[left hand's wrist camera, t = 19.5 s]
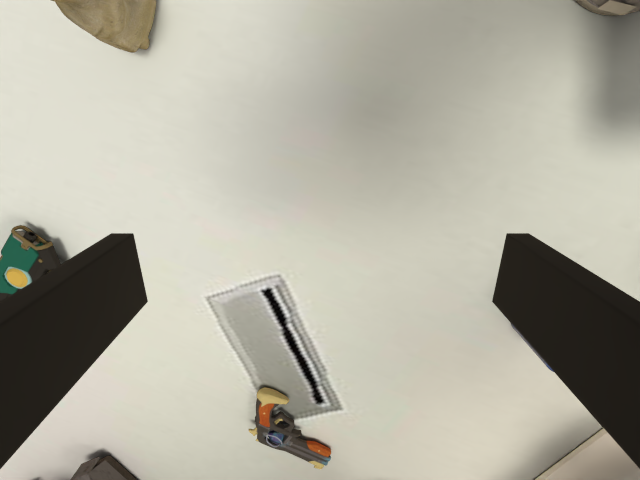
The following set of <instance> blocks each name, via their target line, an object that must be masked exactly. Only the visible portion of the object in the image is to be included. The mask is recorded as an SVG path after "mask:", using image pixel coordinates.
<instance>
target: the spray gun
mask: <svg viewBox="0 0 640 480" xmlns="http://www.w3.org/2000/svg"><path fill="white" fill-rule="evenodd" d="M17 229H24V230H25V231H27V232H26V233H24V232H22V231H15V230H17ZM11 232H12V233H11V234H10V236H9V238H8V240H7V241H6V243H5V245H4V247H3V248H2V250H1V254H2V256H1V258H0V302H1V301H2V300H4V299H6V298H7V297H9V296H11V295H12V294H14V293H15V292H17V291H19V290H20V289H22V288H24V287H25V286H27V285H28V284H30V283H32V282H33V281H35V280H37V279H38V278H40V277H41V276H43V275H45V274H46V273H47V272H48V270H50V271H51V270H53V269H55V268H56V267H58V266H59V265H61V264H60V261H59V259H58V256H57V254H56V252H55V249H54V247H53V246H52V245H53V244H52V242H47V241H45V240H44V239H42V238H41V237H40V236H38V235H37V234H35V233H34V232H33V231H31V230H30V229H29V228H27V227H25V226H22V225H20V226H16V227H14V228H13V229H12V230H11ZM39 241H41V242H42V243H39ZM43 243H44V244H45V245H43ZM50 271H49V272H50Z"/></svg>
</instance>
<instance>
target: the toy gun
mask: <svg viewBox="0 0 640 480" xmlns="http://www.w3.org/2000/svg"><path fill="white" fill-rule="evenodd" d="M288 402H289V399H288V398H287V397H286V396H285V395H283V394H281V393H280V392H278V391H276V390H273V389H270V388H262V389H260V390H259V391H258V392H257V402H256V417H255V422H256V428H255V429H249V432H250V433H252V434H253V436H255V435H256V434H257V439H256V441H259V442H260V443H262V444H265V445H267V446H270V447H272V448H275V449H278V450H283V451H286V452H288V453H291V454H293V455H295V456H297V457H299V458H302V459H304V460H306V461H308V462H309V463H311V464H314V465H315V466H314V468H318V469H322V468H323V467H324V465H327V464H328V461H330V459H331V456H330V454H331V449H330V448H328V447H326V446H324V445H322V444H320V443H318V442H315V441H305V440H303V439H301V438H299V436H301V430H297V429H293V428H294V420H293V419H291V418H289V417H287V416H286V415H285V414H284V413H283V412H281V411H280V412H279V413H278V414H276V415H274V416H272V415H271V414H272V411H273V409H274V408H275V407H276V406H277V405H279V404H287V403H288ZM277 418H279V419H277ZM276 419H277V420H276ZM283 420H284V421H285V422H287V423H288V424H287V425H283V424H281V423H278V422H279V421H283ZM276 421H277V422H276ZM270 430H272V431H270ZM267 435H268V437H269V438H267Z"/></svg>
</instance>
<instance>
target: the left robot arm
mask: <svg viewBox="0 0 640 480" xmlns="http://www.w3.org/2000/svg"><path fill="white" fill-rule="evenodd" d="M576 1H577V2H578V3H579V4H580V5H581V6H583V7H584V8H586V9H588V10H590V11H592V12H594V13H597V14H602V15H609V16H616V15H624V14H629V13H633V12H636V11H639V10H640V0H576ZM147 302H148V301H147V296H146V291H145V287H144V282H143V277H142V273H141V268H140V263H139V258H138V254H137V249H136V244H135V240H134V235H133V234H110V235H108V236H107V237H105V238H103V239H102V240H100V241H99V242H97V243H95V244H94V245H92V246H90V247H89V248H87V249H85V250H84V251H82V252H81V253H79V254H77V255H76V256H74V257H72V258H71V259H69V260H68V261H66V262H64V263H63V264H61V265H59V266H58V267H56V268H55V269H53V270H51V271H50V272H48V273H46V274H45V275H43V276H41V277H40V278H38V279H37V280H35V281H33V282H32V283H30V284H28V285H27V286H25V287H24V288H22V289H20V290H19V291H17V292H15V293H14V294H12V295H11V296H9V297H7V298H6V299H4V300H2V301H1V302H0V469H1V468H2V466H3V465H4V464H5V463H6V462H7V461H8V460H9V459H10V457H11V456H12V455H13V454H14V453H15V452H16V451H17V449H18V448H19V447H20V446H21V445H22V444H23V443H24V441H25V440H26V439H27V438H28V437H29V436H30V435H31V434H32V432H33V431H34V430H35V429H36V428H37V427H38V426H39V424H40V423H41V422H42V421H43V420H44V419H45V418H46V416H47V415H48V414H49V413H50V412H51V411H52V410H53V409H54V407H55V406H56V405H57V404H58V403H59V402H60V401H61V399H62V398H63V397H64V396H65V395H66V394H67V393H68V391H69V390H70V389H71V388H72V387H73V386H74V385H75V383H76V382H77V381H78V380H79V379H80V378H81V377H82V376H83V374H84V373H85V372H86V371H87V370H88V369H89V368H90V366H91V365H92V364H93V363H94V362H95V361H96V360H97V358H98V357H99V356H100V355H101V354H102V353H103V352H104V351H105V349H106V348H107V347H108V346H109V345H110V344H111V343H112V341H113V340H114V339H115V338H116V337H117V336H118V335H119V333H120V332H121V331H122V330H123V329H124V328H125V327H126V326H127V324H128V323H129V322H130V321H131V320H132V319H133V318H134V316H135V315H136V314H137V313H138V312H139V311H140V310H141V308H142V307H143V306H144V305H145V304H146V303H147ZM492 302H493V303H494V304H495V305H496V306H497V307H498V308H499V310H500V311H501V312H502V313H503V314H504V315H505V316H506V318H507V319H508V320H509V321H510V322H511V323H512V324H513V326H514V327H515V328H516V329H517V330H518V331H519V332H520V333H521V335H522V336H523V337H524V338H525V339H526V340H527V341H528V343H529V344H530V345H531V346H532V347H533V348H534V349H535V351H536V352H537V353H538V354H539V355H540V356H541V357H542V358H543V360H544V361H545V362H546V363H547V364H548V365H549V366H550V368H551V369H552V370H553V371H554V372H555V373H556V374H557V376H558V377H559V378H560V379H561V380H562V381H563V382H564V383H565V385H566V386H567V387H568V388H569V389H570V390H571V391H572V393H573V394H574V395H575V396H576V397H577V398H578V399H579V401H580V402H581V403H582V404H583V405H584V406H585V407H586V409H587V410H588V411H589V412H590V413H591V414H592V415H593V416H594V418H595V419H596V420H597V421H598V422H599V423H600V424H601V426H602V427H603V428H604V429H605V430H606V431H607V432H608V434H609V435H610V436H611V437H612V438H613V439H614V440H615V441H616V443H617V444H618V445H619V446H620V447H621V448H622V449H623V451H624V452H625V453H626V454H627V455H628V456H629V457H630V459H631V460H632V461H633V462H634V463H635V464H636V465H637V466H638V468H639V469H640V302H639V301H638V300H636V299H634V298H633V297H631V296H629V295H628V294H626V293H625V292H623V291H621V290H620V289H618V288H616V287H615V286H613V285H612V284H610V283H608V282H607V281H605V280H603V279H602V278H600V277H599V276H597V275H595V274H594V273H592V272H590V271H589V270H587V269H585V268H584V267H582V266H581V265H579V264H577V263H576V262H574V261H572V260H571V259H569V258H568V257H566V256H564V255H563V254H561V253H559V252H558V251H556V250H555V249H553V248H551V247H550V246H548V245H546V244H545V243H543V242H541V241H540V240H538V239H537V238H535V237H533V236H532V235H530V234H507V235H506V240H505V244H504V249H503V254H502V258H501V263H500V268H499V273H498V277H497V282H496V287H495V291H494V296H493V301H492Z"/></svg>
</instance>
